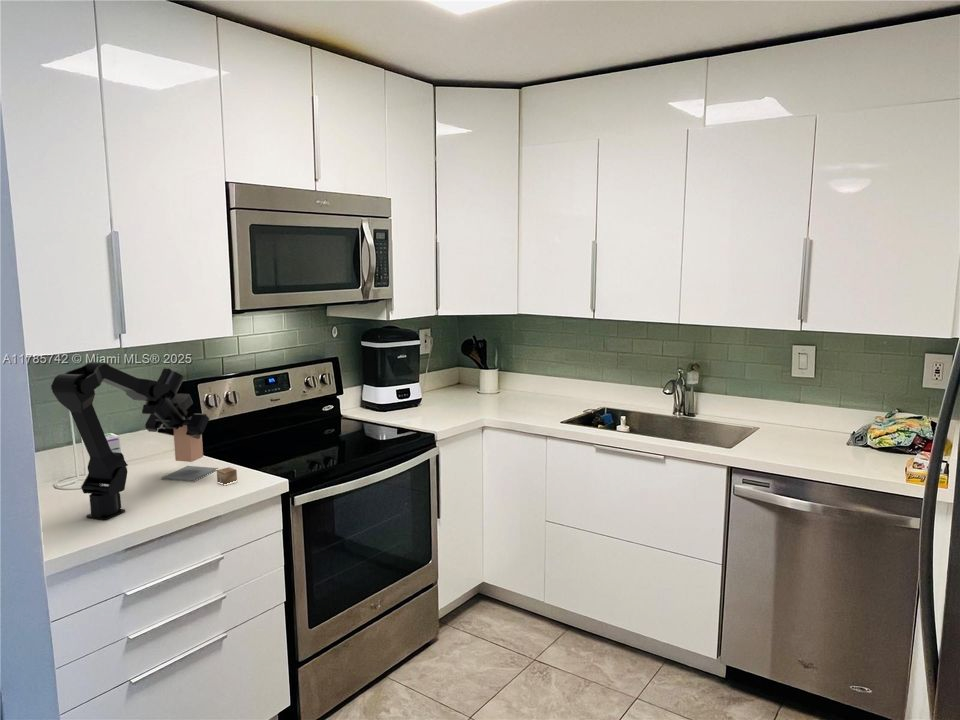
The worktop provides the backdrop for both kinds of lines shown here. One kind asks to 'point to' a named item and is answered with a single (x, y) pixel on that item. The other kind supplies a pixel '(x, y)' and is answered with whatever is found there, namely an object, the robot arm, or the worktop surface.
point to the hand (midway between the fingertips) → (191, 436)
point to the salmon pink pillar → (187, 446)
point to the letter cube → (226, 475)
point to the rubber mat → (189, 473)
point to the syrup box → (113, 445)
